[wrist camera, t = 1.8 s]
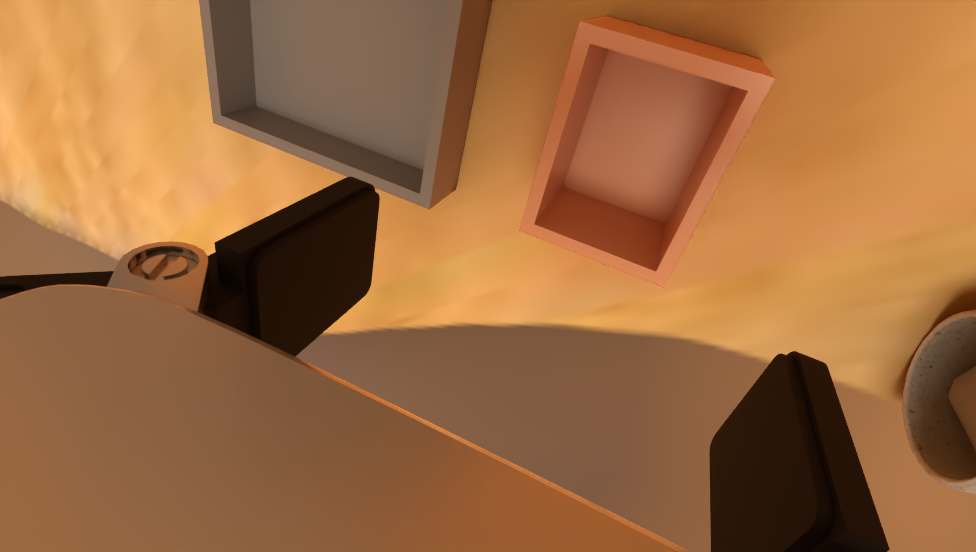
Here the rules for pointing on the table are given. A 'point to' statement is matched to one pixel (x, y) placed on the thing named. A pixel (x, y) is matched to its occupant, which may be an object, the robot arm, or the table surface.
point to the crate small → (640, 144)
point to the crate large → (351, 84)
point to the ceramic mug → (944, 402)
